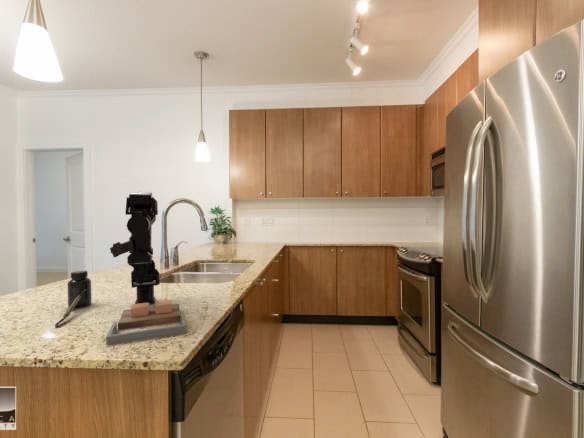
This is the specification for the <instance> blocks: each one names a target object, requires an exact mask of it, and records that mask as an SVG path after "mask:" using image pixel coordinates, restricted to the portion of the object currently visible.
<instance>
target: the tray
mask: <svg viewBox="0 0 584 438" xmlns="http://www.w3.org/2000/svg"><path fill="white" fill-rule="evenodd" d="M180 323H181V324H179V325H172V326H166V327H160V328H159V327H157V328H152V329H151V328H150V329H145V330H138V331H131V332H125V333H124V332H122V333H117V331H118V322H116V321H115V322H113V323H112V324H111V326H110V328H109V330H108V332H107V334H106V336H105V344H106V346H107V345H108V346H110V345H116V344H122V343H123V344H124V343H128V342H133V341H134V342H135V341H142V340H150V339H156V338H162V337H169V336H177V335H183V334H186V333H187V324H186V318H185V313H180Z"/></svg>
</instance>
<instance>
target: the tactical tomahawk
mask: <svg viewBox="0 0 584 438" xmlns="http://www.w3.org/2000/svg"><path fill="white" fill-rule="evenodd" d="M84 292H86V289H84V290H83V292H81V293H80V294H79V295H78V296H76V297H75V298H74V299H73V300H72V301H71V302H70V303H69V305H70V304H71V303H72V302H73V303H72V304H71V306H70V307H68V309H67V310H66V312H65V313H64V315H63V316H62V317H63V318H61V319H60V320H59V321H58V322H56V323H55V325H54V327H57V326H59V325H60V323H62V322H64V320H66V319H67V318H68V317H69V316H70V314H71V312H73V310H74V309H75V308H74V307H75V305H76V304H77V302H78V301H79V299H80V297H81V295H82V294H83V293H84ZM69 305H68V304H67V306H69Z"/></svg>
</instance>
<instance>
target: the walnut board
mask: <svg viewBox="0 0 584 438" xmlns="http://www.w3.org/2000/svg"><path fill="white" fill-rule="evenodd" d="M180 309H181V308H180V303H176V304H172V312H168V313H160V314H156V306H149V313H148V315H144V316H136V317H131V309H123V310H122V311H123V312H122V313H121V316H120V318H119V320H118V322H117V331H120V330H126V329H127V330H128V329H136V328H142V327H150V326H158V325H159V326H160V325H166V324H172V323H173V324H174V323H181V311H180Z"/></svg>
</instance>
